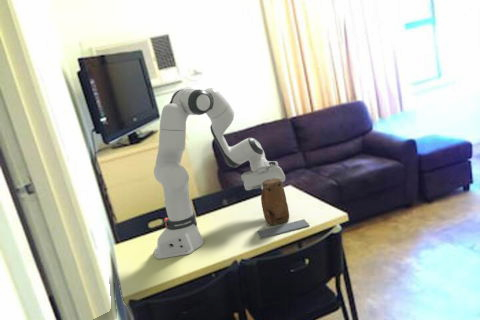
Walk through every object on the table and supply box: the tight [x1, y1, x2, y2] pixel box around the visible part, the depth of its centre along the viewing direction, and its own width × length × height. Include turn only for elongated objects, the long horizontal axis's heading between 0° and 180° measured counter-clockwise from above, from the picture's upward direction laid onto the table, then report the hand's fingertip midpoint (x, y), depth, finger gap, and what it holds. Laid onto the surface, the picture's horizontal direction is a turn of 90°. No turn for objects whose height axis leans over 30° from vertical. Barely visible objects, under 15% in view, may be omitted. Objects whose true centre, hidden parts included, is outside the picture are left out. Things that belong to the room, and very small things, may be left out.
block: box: [260, 178, 290, 226], centre depth 190 cm, size 11×8×20 cm
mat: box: [257, 218, 310, 240], centre depth 183 cm, size 22×8×1 cm, turn 99°
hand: (268, 192), depth 199 cm, fingers closed
